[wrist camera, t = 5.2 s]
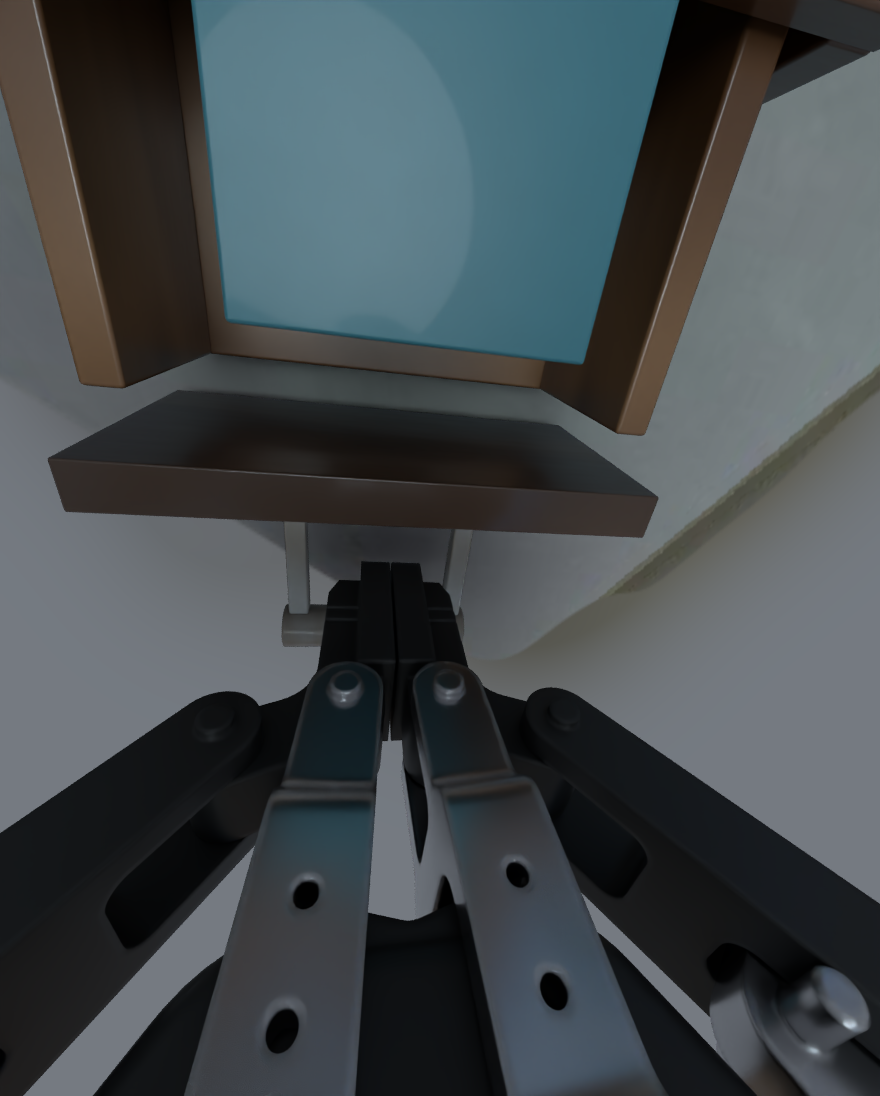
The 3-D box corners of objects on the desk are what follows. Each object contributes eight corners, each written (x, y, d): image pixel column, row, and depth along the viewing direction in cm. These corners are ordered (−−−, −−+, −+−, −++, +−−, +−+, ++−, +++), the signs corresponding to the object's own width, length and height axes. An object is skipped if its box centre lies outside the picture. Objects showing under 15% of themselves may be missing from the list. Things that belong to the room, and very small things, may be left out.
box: (311, 302, 13) (224, 322, 5) (307, 119, 11) (158, -288, 3) (463, 323, 14) (584, 365, 6) (485, 156, 12) (707, -99, 4)
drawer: (520, 577, 20) (581, 693, 15) (206, 569, 18) (127, 704, 12) (703, -139, 10) (1139, -700, 5) (48, -377, 8) (-864, -2273, 2)
